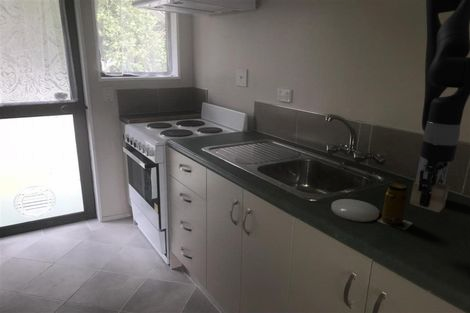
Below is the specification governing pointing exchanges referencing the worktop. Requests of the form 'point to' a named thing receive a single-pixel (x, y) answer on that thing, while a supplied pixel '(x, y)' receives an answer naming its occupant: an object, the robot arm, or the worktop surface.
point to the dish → (355, 210)
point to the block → (436, 197)
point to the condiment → (395, 206)
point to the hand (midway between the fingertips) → (427, 202)
